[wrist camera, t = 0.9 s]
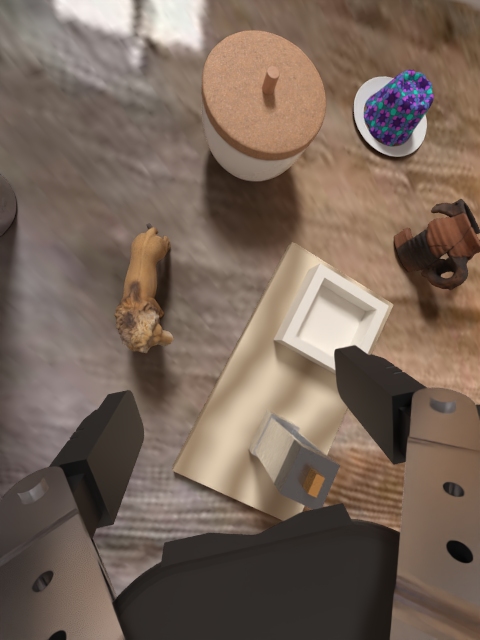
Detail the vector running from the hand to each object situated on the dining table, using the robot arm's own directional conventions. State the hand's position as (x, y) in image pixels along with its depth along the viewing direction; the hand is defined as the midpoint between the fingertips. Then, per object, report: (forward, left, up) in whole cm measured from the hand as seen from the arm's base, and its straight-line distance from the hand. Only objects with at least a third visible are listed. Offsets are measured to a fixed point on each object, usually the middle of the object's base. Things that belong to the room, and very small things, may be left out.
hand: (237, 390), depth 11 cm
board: (+11, +3, -23) cm, 25 cm away
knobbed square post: (+12, -4, -21) cm, 25 cm away
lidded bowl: (-7, +26, -23) cm, 35 cm away
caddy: (+12, +11, -21) cm, 26 cm away
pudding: (+8, +43, -23) cm, 49 cm away
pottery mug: (+21, +27, -23) cm, 42 cm away
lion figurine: (-9, +4, -23) cm, 25 cm away
